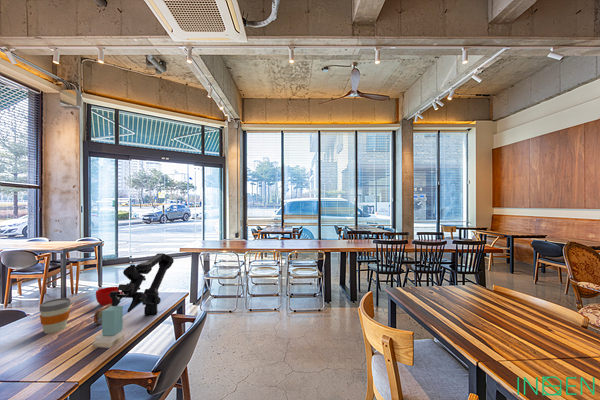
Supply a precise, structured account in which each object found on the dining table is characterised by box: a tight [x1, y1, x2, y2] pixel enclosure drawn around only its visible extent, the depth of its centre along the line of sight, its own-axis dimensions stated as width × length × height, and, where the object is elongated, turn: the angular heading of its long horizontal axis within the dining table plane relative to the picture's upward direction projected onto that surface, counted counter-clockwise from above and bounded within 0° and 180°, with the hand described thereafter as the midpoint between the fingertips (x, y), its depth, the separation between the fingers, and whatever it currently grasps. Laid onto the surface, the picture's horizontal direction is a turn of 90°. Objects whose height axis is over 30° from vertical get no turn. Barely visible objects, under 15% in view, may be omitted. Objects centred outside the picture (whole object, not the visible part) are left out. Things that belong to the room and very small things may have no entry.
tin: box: [93, 304, 112, 325], centre depth 150 cm, size 15×3×8 cm, turn 2°
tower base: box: [92, 333, 125, 349], centre depth 127 cm, size 9×9×2 cm
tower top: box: [94, 329, 124, 343], centre depth 127 cm, size 8×8×2 cm
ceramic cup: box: [95, 286, 123, 307], centre depth 175 cm, size 13×17×10 cm
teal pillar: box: [101, 305, 124, 336], centre depth 128 cm, size 6×6×12 cm
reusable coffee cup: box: [38, 297, 72, 334], centre depth 140 cm, size 13×13×15 cm
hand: (119, 311), depth 134 cm, fingers open, 9 cm apart
